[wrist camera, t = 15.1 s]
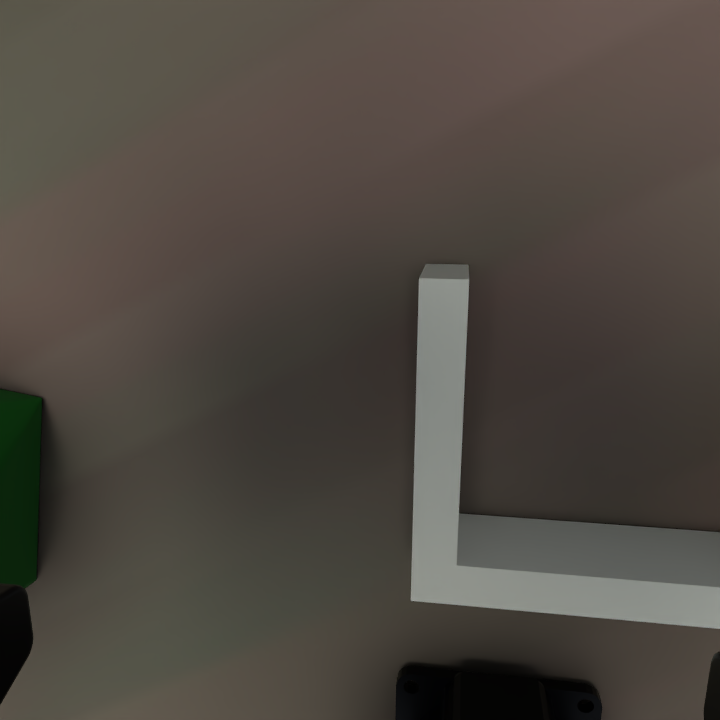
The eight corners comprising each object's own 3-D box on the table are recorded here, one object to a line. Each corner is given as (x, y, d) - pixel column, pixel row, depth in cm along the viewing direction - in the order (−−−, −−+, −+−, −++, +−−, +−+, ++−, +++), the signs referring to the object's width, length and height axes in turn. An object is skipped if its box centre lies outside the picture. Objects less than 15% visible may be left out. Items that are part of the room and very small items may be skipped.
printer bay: (769, 572, 20) (820, 637, 17) (417, 544, 22) (410, 600, 19) (823, 271, 18) (891, 289, 15) (425, 263, 19) (418, 278, 16)
